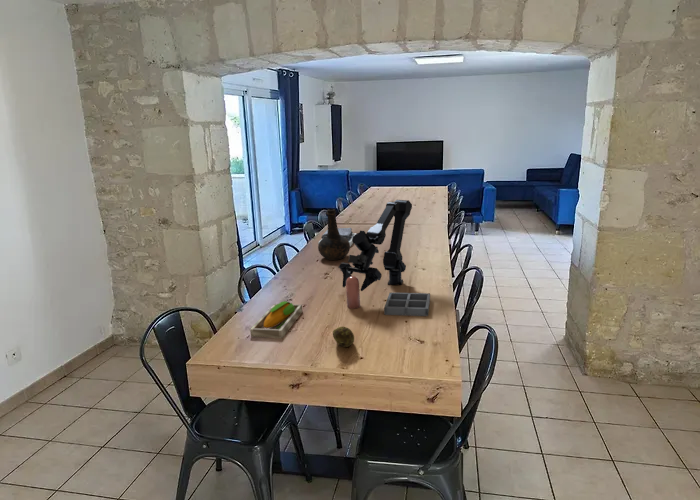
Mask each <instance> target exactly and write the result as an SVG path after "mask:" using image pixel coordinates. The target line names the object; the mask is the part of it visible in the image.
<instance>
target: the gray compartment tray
mask: <svg viewBox="0 0 700 500" xmlns="http://www.w3.org/2000/svg"><path fill="white" fill-rule="evenodd" d="M385 301H386V302H385V304H384V307H383V309H384V315H387V316H412V317H428V316H429V312H430V311H429V310H430V302H431V293H429V292H428V293H427V292H426V293H423V292H422V293H421V292H418V293H417V292H389V294H388V297H387V299H386V300H385Z"/></svg>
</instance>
